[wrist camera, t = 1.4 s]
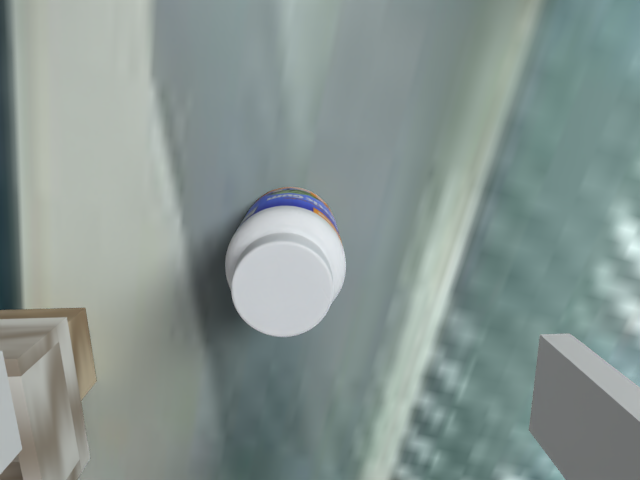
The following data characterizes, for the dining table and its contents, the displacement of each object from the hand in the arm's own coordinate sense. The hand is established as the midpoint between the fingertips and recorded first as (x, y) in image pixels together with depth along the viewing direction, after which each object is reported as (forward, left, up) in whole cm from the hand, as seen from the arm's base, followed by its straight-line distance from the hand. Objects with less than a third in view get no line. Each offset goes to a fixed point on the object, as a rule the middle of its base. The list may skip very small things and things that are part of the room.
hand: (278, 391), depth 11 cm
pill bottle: (0, 0, -16) cm, 16 cm away
